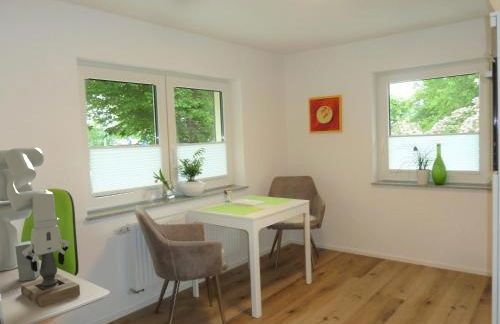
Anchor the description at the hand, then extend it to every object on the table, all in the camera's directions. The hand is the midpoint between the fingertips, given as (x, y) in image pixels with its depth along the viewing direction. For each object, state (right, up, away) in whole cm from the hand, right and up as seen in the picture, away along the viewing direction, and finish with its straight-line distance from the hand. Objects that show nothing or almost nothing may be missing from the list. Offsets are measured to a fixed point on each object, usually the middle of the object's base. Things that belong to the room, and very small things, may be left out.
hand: (48, 267), depth 149 cm
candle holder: (0, -11, +1) cm, 11 cm away
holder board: (0, -11, +1) cm, 11 cm away
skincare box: (-19, -10, +21) cm, 30 cm away
